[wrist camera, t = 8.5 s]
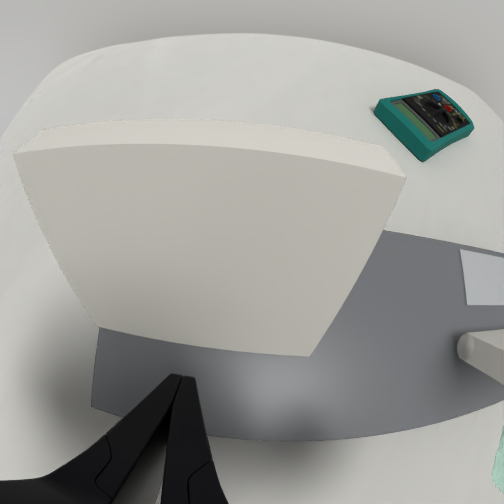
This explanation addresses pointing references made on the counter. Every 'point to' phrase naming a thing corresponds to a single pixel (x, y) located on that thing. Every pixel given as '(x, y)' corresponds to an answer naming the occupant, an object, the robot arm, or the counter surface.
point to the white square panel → (210, 226)
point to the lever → (484, 352)
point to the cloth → (499, 465)
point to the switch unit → (339, 355)
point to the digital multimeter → (424, 121)
